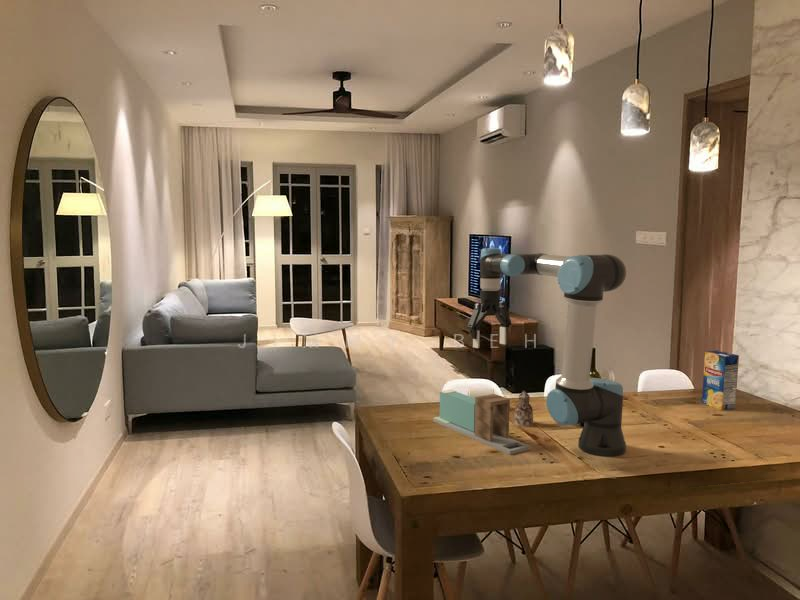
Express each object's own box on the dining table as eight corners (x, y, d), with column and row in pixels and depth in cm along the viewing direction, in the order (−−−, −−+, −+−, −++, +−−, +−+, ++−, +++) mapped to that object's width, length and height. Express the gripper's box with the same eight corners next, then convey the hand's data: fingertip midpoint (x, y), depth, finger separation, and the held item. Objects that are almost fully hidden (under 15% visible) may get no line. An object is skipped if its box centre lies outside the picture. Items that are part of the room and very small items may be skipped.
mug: (494, 411, 263) (494, 391, 262) (468, 410, 263) (469, 391, 262) (490, 402, 275) (491, 384, 274) (466, 402, 275) (466, 383, 274)
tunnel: (508, 437, 227) (509, 398, 225) (489, 442, 222) (490, 402, 221) (493, 431, 234) (494, 393, 232) (474, 435, 229) (475, 397, 227)
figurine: (512, 425, 245) (513, 393, 243) (514, 420, 251) (515, 389, 250) (531, 427, 243) (533, 395, 241) (533, 421, 249) (534, 390, 248)
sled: (484, 429, 235) (485, 401, 233) (473, 431, 232) (474, 403, 231) (450, 415, 251) (450, 389, 250) (439, 417, 249) (440, 391, 247)
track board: (529, 449, 219) (530, 445, 219) (509, 454, 214) (509, 450, 214) (451, 417, 254) (451, 414, 254) (432, 421, 249) (432, 417, 249)
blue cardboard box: (722, 410, 266) (725, 356, 264) (701, 403, 277) (704, 351, 274) (735, 408, 269) (739, 355, 266) (714, 401, 279) (718, 350, 276)
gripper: (507, 287, 258) (506, 341, 260) (458, 290, 244) (457, 347, 246) (521, 288, 252) (520, 343, 254) (471, 292, 238) (471, 350, 240)
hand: (489, 345), depth 250 cm, fingers open, 13 cm apart
